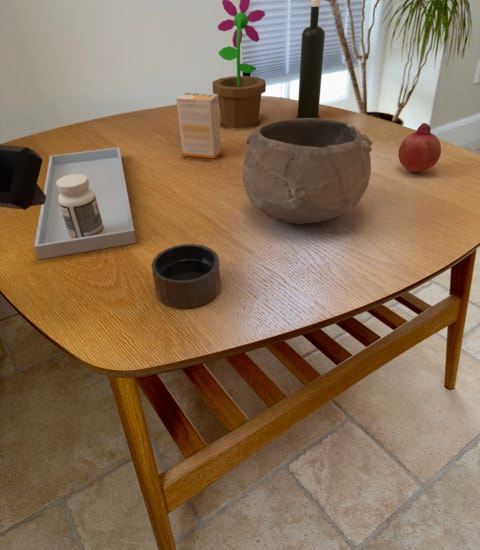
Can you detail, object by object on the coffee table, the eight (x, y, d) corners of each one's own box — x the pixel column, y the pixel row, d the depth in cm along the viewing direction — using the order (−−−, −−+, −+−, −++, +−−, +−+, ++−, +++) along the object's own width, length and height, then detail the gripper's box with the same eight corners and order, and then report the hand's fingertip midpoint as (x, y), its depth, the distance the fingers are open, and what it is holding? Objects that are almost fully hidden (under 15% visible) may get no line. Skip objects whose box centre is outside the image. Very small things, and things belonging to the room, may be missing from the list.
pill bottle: (107, 225, 75) (94, 171, 69) (102, 242, 70) (87, 186, 64) (73, 227, 74) (57, 173, 69) (66, 245, 70) (48, 189, 64)
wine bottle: (300, 113, 125) (308, -12, 107) (320, 115, 123) (331, -12, 105) (294, 119, 120) (301, -10, 102) (315, 121, 119) (325, -10, 101)
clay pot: (220, 209, 79) (216, 127, 70) (303, 178, 89) (308, 102, 80) (301, 260, 66) (308, 166, 57) (387, 217, 76) (405, 131, 66)
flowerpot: (269, 115, 124) (271, -10, 106) (260, 131, 113) (260, -5, 95) (221, 112, 127) (215, -10, 109) (207, 128, 116) (198, -5, 98)
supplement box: (222, 152, 102) (219, 93, 94) (214, 159, 98) (211, 99, 91) (190, 148, 104) (184, 91, 96) (181, 156, 101) (175, 97, 93)
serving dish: (38, 259, 68) (33, 246, 66) (52, 165, 98) (49, 155, 97) (136, 243, 71) (134, 230, 69) (121, 157, 101) (119, 147, 100)
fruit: (390, 175, 89) (400, 127, 83) (398, 161, 95) (408, 115, 89) (432, 182, 86) (445, 132, 80) (438, 167, 92) (450, 120, 86)
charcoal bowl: (161, 315, 56) (156, 288, 54) (152, 276, 63) (147, 250, 61) (227, 301, 58) (226, 274, 56) (212, 264, 65) (210, 239, 63)
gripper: (-4, 63, 39) (91, 142, 54) (-159, 57, 43) (-30, 131, 58) (-36, 181, 37) (71, 228, 52) (-192, 163, 42) (-52, 211, 57)
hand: (13, 196), depth 55 cm, fingers open, 9 cm apart
